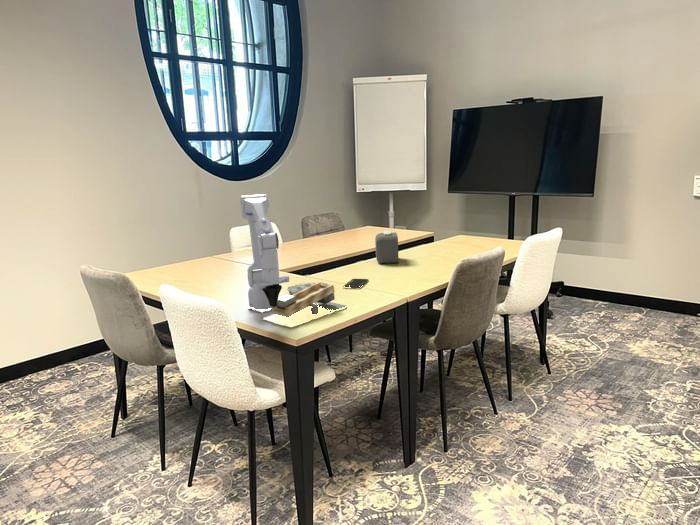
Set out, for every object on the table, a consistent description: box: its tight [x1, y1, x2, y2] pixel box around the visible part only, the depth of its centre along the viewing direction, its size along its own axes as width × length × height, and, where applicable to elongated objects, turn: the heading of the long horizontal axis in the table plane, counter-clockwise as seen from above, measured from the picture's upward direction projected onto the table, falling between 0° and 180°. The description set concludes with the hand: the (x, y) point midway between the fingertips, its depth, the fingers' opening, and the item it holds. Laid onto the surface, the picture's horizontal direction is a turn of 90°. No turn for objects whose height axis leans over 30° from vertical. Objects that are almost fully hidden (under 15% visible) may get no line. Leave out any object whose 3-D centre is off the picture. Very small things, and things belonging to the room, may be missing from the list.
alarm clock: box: [374, 230, 399, 264], centre depth 278 cm, size 16×11×16 cm
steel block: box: [277, 293, 296, 309], centre depth 187 cm, size 5×5×4 cm
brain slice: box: [286, 282, 331, 295], centre depth 222 cm, size 20×17×3 cm
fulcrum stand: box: [311, 301, 347, 314], centre depth 194 cm, size 28×16×3 cm, turn 138°
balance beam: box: [271, 281, 335, 317], centre depth 193 cm, size 24×12×6 cm, turn 138°
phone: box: [343, 278, 369, 288], centre depth 234 cm, size 8×1×15 cm
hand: (273, 306), depth 182 cm, fingers closed
